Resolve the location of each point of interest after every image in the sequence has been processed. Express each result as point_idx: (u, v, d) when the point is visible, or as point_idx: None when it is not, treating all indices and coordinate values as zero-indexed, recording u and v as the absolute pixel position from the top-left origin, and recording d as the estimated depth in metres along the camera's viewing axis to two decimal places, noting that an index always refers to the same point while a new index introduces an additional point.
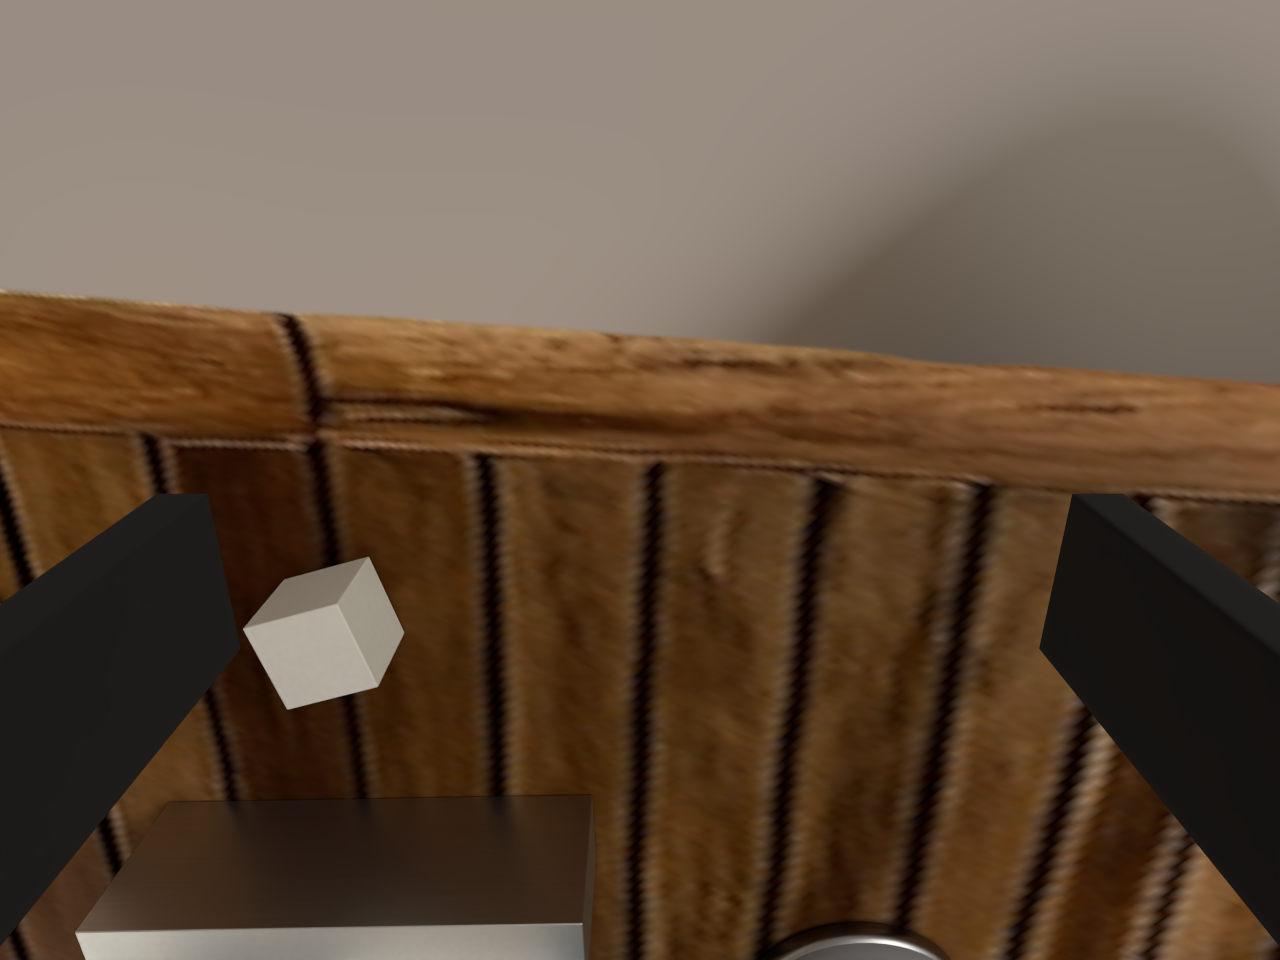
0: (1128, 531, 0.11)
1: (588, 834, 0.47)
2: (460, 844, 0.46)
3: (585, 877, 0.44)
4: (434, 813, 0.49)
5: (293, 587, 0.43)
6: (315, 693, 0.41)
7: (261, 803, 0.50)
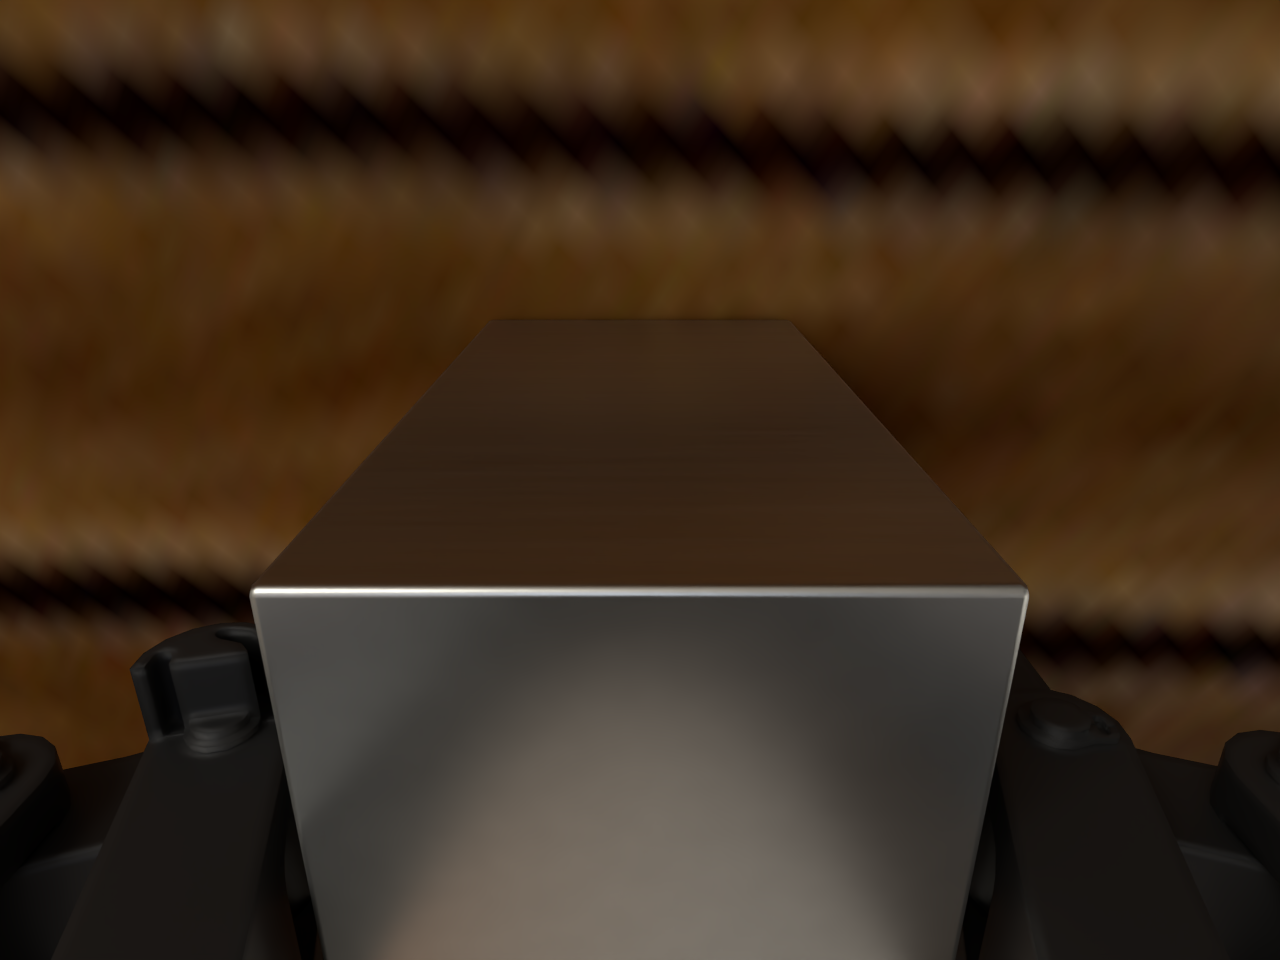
0: None
1: None
2: None
3: (386, 442, 0.08)
4: None
5: None
6: None
7: None
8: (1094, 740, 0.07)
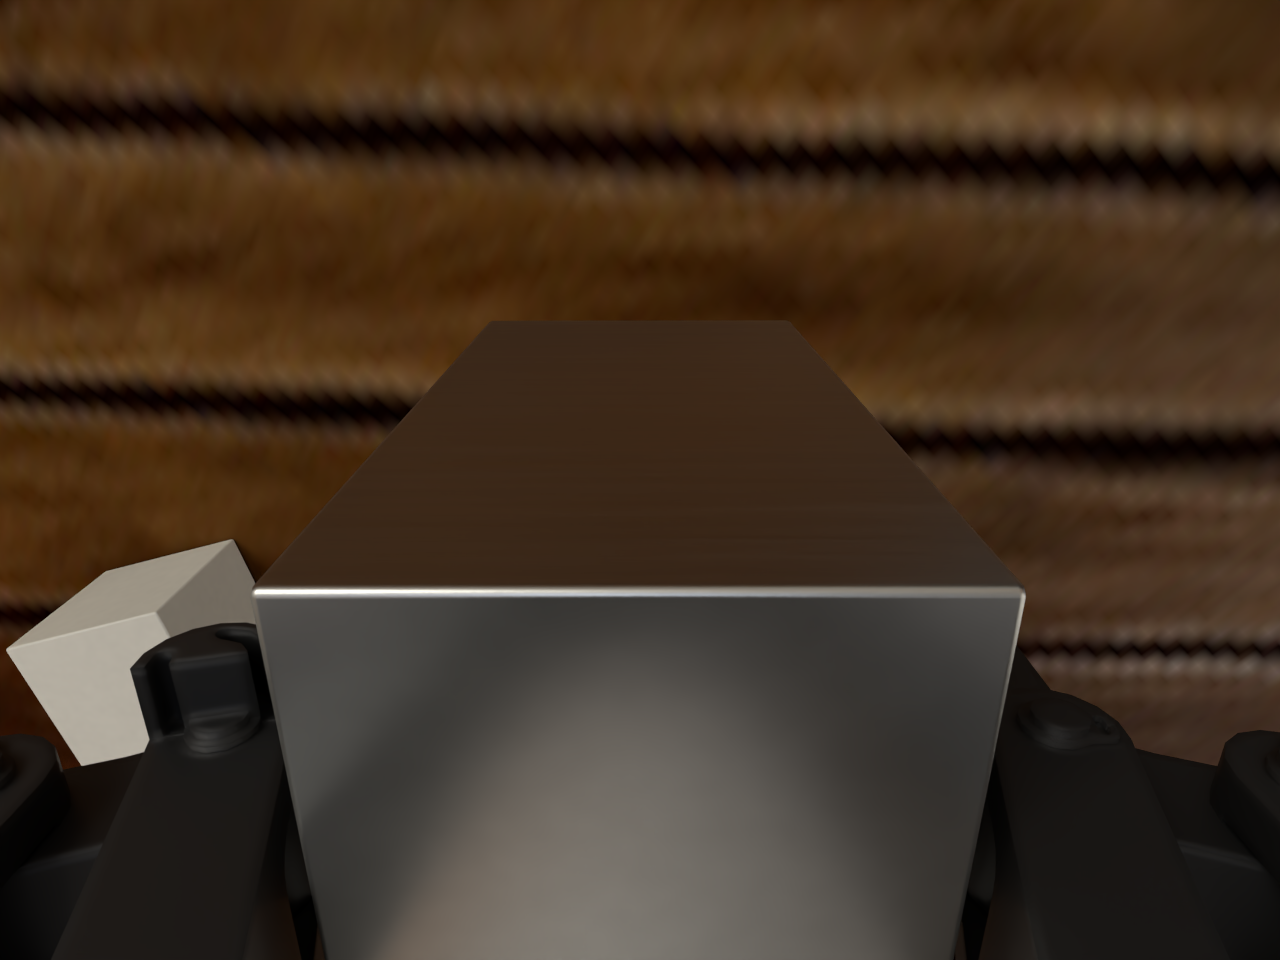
0: None
1: None
2: None
3: (386, 443, 0.08)
4: None
5: None
6: None
7: None
8: (1093, 741, 0.07)
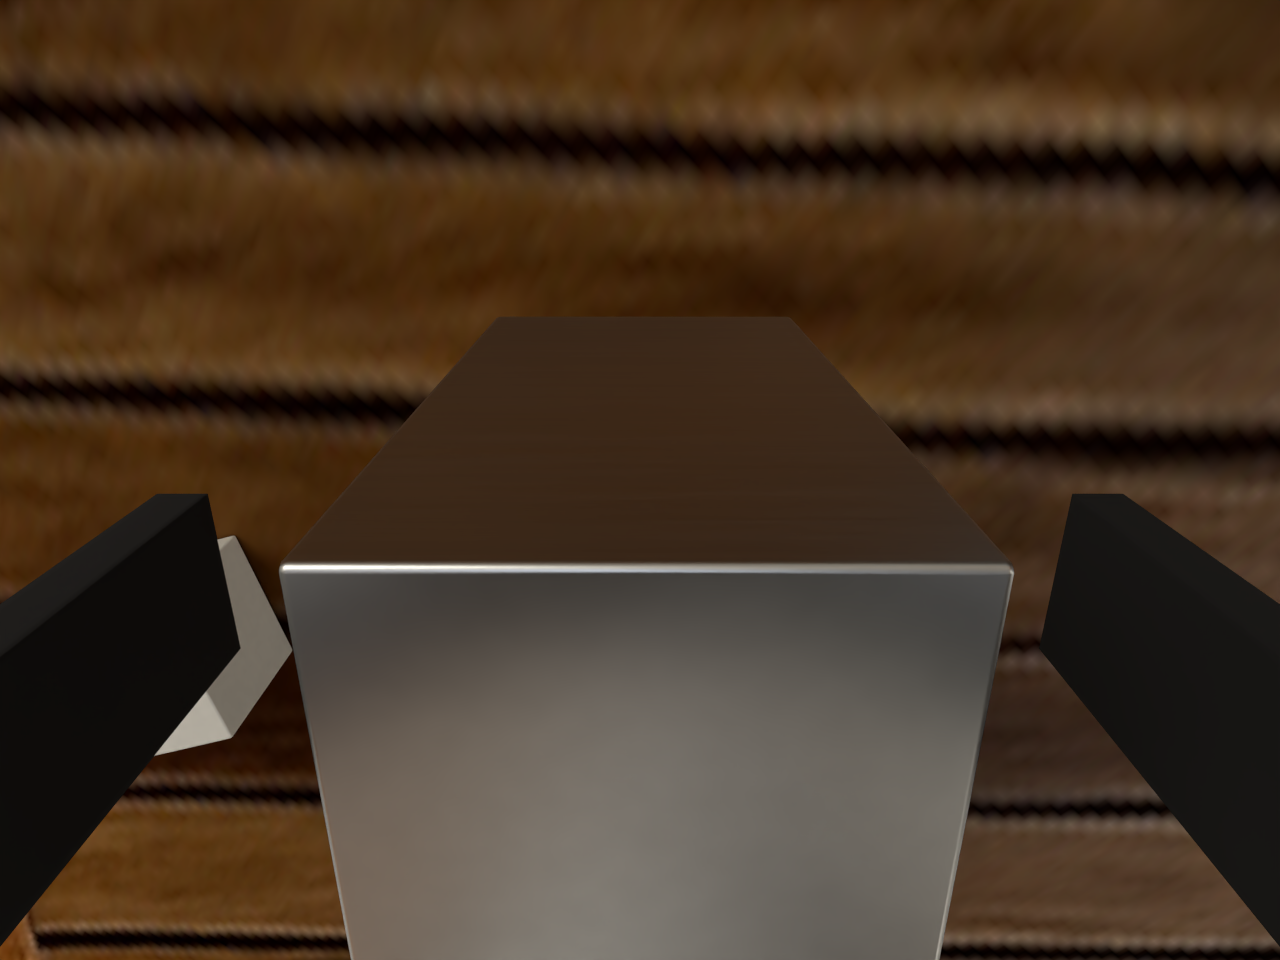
0: (1128, 531, 0.11)
1: None
2: None
3: (401, 432, 0.08)
4: None
5: None
6: None
7: None
8: None
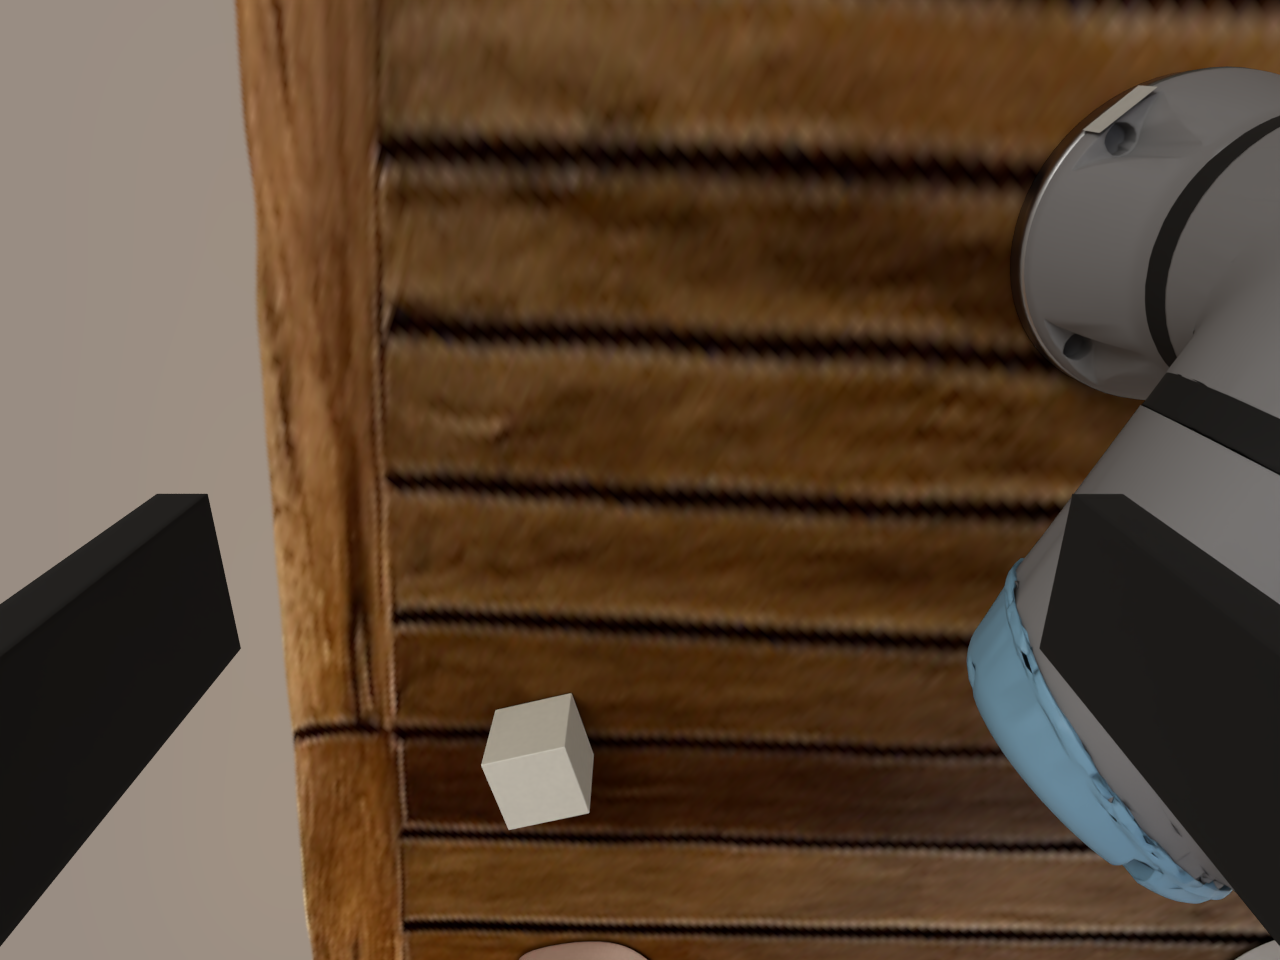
0: (1127, 532, 0.11)
1: None
2: None
3: None
4: None
5: None
6: (572, 791, 0.47)
7: None
8: None
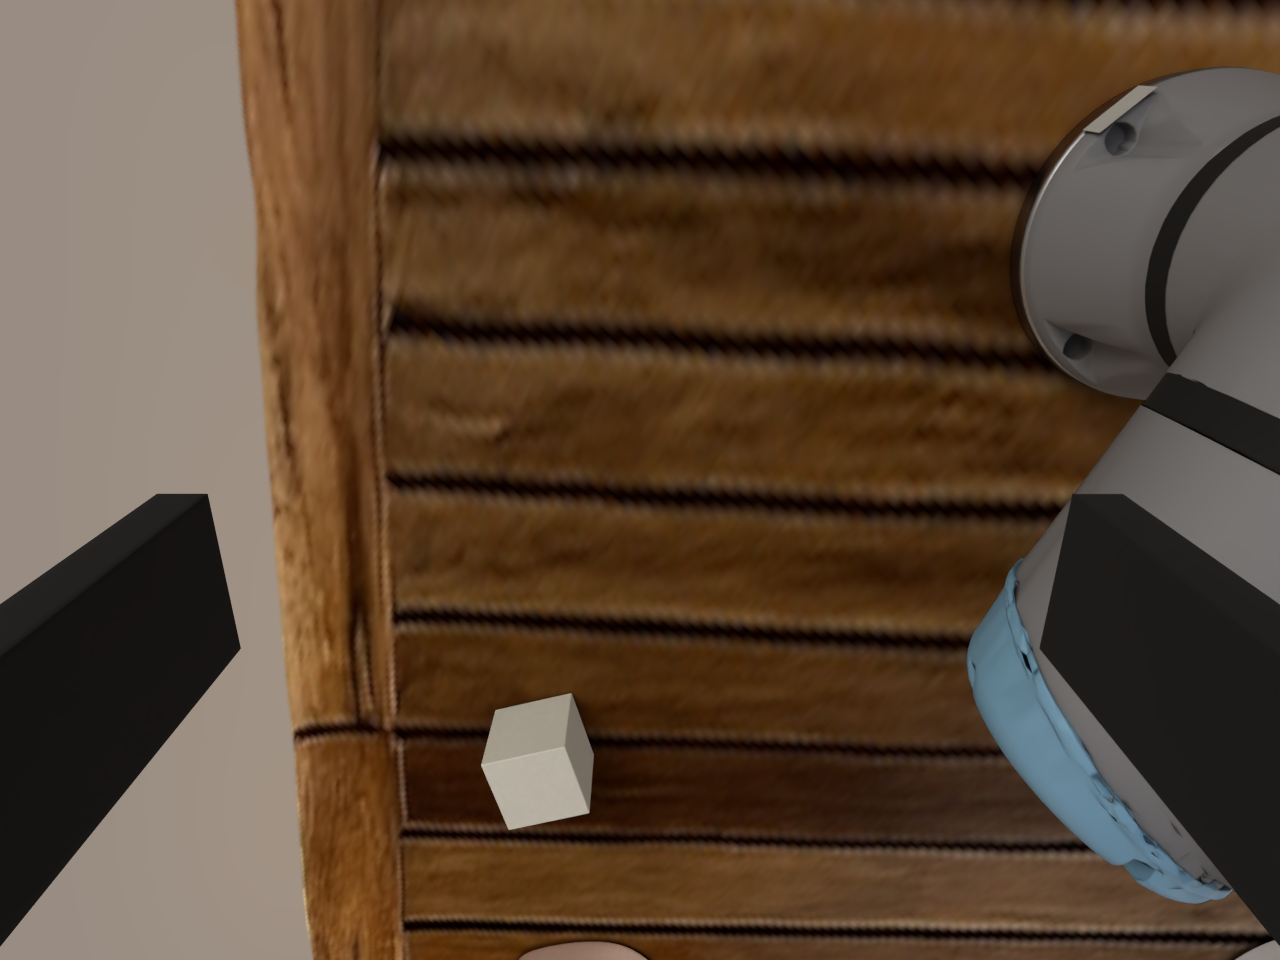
0: (1127, 532, 0.11)
1: None
2: None
3: None
4: None
5: None
6: (572, 791, 0.47)
7: None
8: None
